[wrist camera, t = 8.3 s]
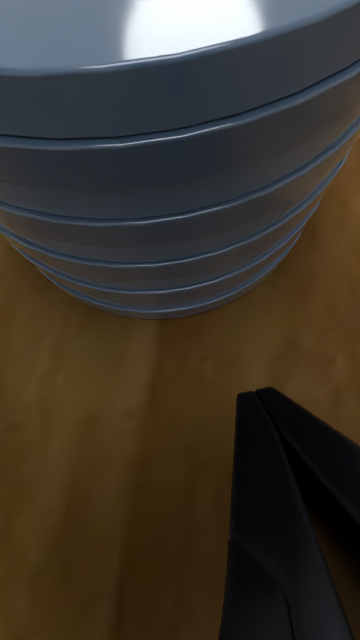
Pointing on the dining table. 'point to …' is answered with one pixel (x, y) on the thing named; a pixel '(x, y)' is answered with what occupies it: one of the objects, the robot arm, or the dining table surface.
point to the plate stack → (170, 141)
